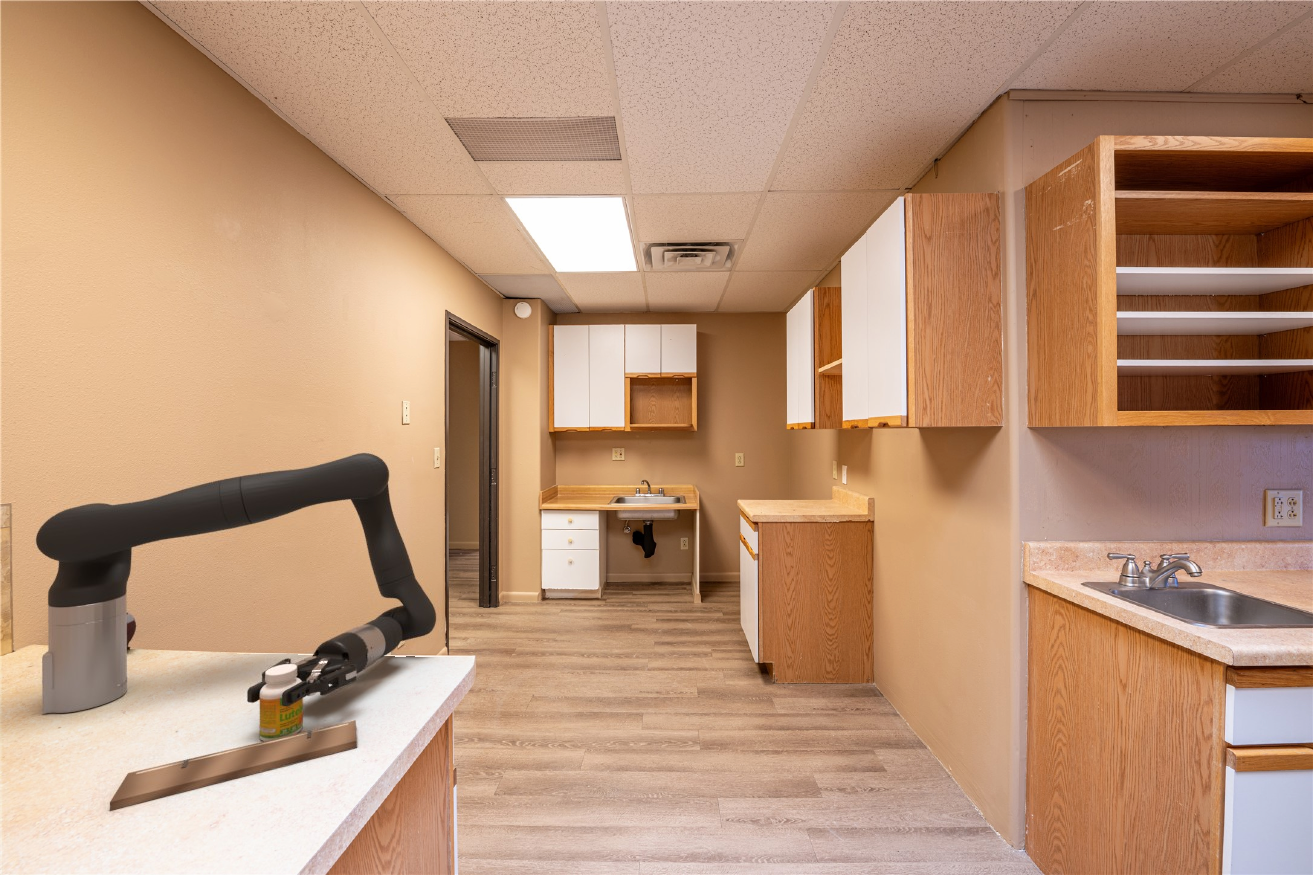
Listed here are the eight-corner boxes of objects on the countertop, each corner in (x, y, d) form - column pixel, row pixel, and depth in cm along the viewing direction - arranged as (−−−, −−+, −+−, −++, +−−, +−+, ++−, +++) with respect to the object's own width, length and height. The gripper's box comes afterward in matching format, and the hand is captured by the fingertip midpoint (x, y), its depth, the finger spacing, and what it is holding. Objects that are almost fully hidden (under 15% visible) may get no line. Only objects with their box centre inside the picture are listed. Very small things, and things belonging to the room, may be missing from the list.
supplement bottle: (280, 745, 79) (280, 678, 79) (250, 740, 80) (249, 675, 80) (311, 725, 84) (311, 663, 84) (282, 721, 85) (282, 660, 85)
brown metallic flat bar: (109, 810, 65) (109, 801, 65) (128, 780, 71) (128, 772, 71) (356, 747, 78) (356, 739, 78) (355, 726, 84) (355, 719, 84)
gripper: (315, 628, 97) (225, 668, 81) (387, 634, 95) (309, 676, 78) (315, 670, 97) (225, 719, 81) (387, 677, 95) (309, 728, 78)
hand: (267, 697), depth 79 cm, fingers closed on supplement bottle, 5 cm apart
